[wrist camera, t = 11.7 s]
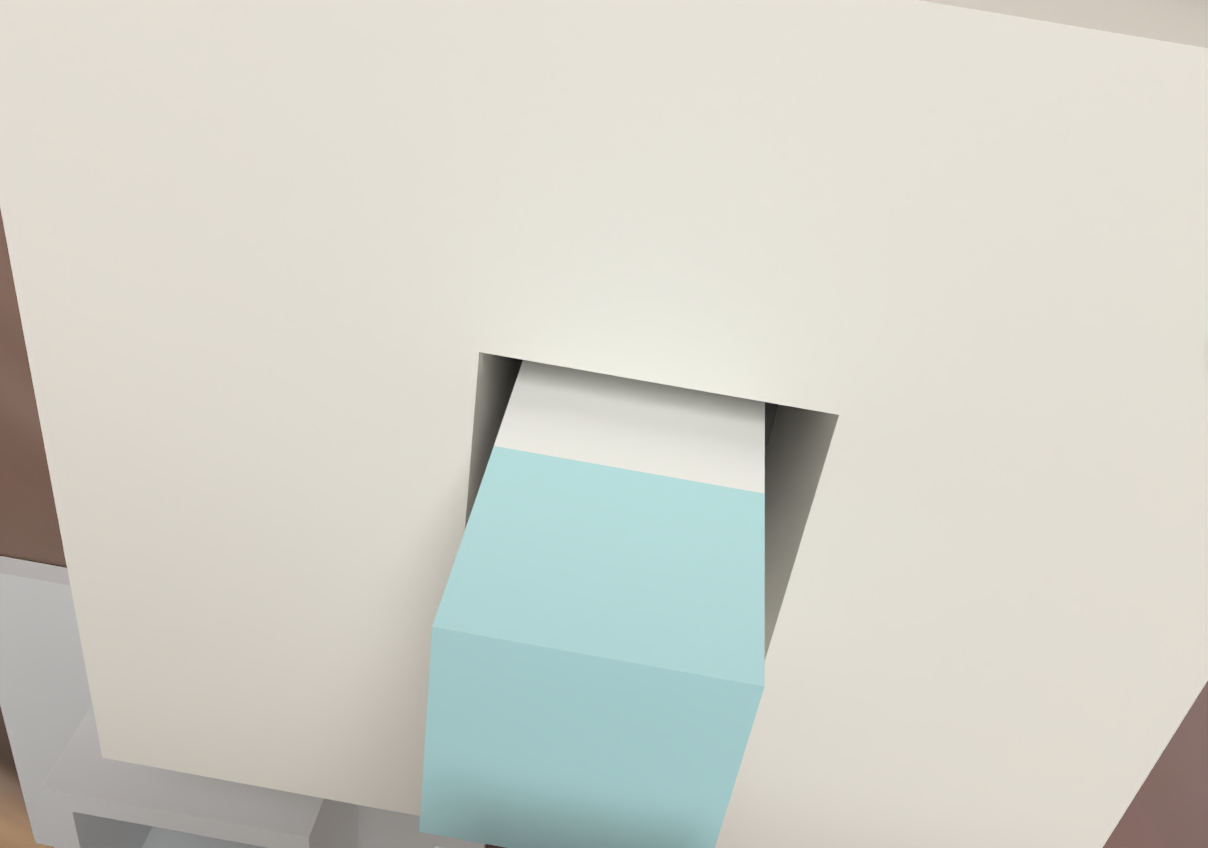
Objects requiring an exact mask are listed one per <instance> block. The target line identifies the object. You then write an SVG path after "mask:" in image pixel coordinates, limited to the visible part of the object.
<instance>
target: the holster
mask: <svg viewBox="0 0 1208 848" xmlns="http://www.w3.org/2000/svg"><path fill="white" fill-rule="evenodd" d="M0 706H1V710H2V714H3V718H4V722H5V725H6V729H7V733H8V737H9V741H10V745H11V749H12V753H13V757H14V761H15V765H16V769H17V773H18V777H19V781H20V785H21V789H22V793H23V797H24V800H25V804H26V808H27V812H28V816H29V820H30V824H31V828H32V832H33V836H34V840H35V843H37V844H42V845H48V846H53V847H54V848H435V847H441V848H486V844H483V843H478V842H472V841H467V840H462V839H456V838H451V837H445V836H440V835H434V834H429V833H424V832H419V830H420V816H417V815H411V814H406V813H400V812H395V811H389V810H384V809H379V808H373V807H368V806H362V805H357V804H351V803H346V802H340V801H335V800H330V799H324V798H319V797H313V796H308V795H302V794H297V793H292V792H286V791H281V790H275V789H270V788H264V787H259V786H253V785H248V784H243V783H237V782H232V781H226V780H221V779H215V778H210V777H205V776H199V775H194V774H188V773H183V772H177V771H172V770H166V769H161V768H156V767H150V766H145V765H139V764H134V763H128V762H123V761H118V760H112V759H107V758H102V754H101V748H100V743H99V737H98V732H97V727H96V721H95V716H94V710H93V705H92V700H91V694H90V689H89V683H88V678H87V673H86V667H85V662H84V656H83V651H82V646H81V640H80V635H79V629H78V624H77V619H76V613H75V608H74V602H73V597H72V591H71V586H70V581H69V575H68V570H67V568H65V567H59V566H53V565H48V564H42V563H37V562H31V561H26V560H20V559H15V558H9V557H4V556H0Z"/></svg>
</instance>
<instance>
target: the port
mask: <svg viewBox="0 0 1208 848" xmlns="http://www.w3.org/2000/svg"><path fill="white" fill-rule="evenodd" d="M0 208H1V213H2V219H3V224H4V229H5V235H6V240H7V246H8V251H9V256H10V262H11V267H12V273H13V278H14V283H15V289H16V294H17V300H18V305H19V310H20V316H21V321H22V327H23V332H24V337H25V343H26V348H27V354H28V359H29V364H30V370H31V375H32V381H33V386H34V391H35V397H36V402H37V408H38V413H39V419H40V424H41V429H42V435H43V440H44V446H45V451H46V456H47V462H48V467H49V473H50V478H51V483H52V489H53V494H54V500H55V505H56V510H57V516H58V521H59V527H60V532H61V537H62V543H63V548H64V554H65V559H66V564H67V570H68V575H69V581H70V586H71V591H72V597H73V602H74V608H75V613H76V619H77V624H78V629H79V635H80V640H81V646H82V651H83V656H84V662H85V667H86V673H87V678H88V683H89V689H90V694H91V700H92V705H93V710H94V716H95V721H96V727H97V732H98V737H99V743H100V748H101V754H102V758H107V759H112V760H118V761H123V762H128V763H134V764H139V765H145V766H150V767H156V768H161V769H166V770H172V771H177V772H183V773H188V774H194V775H199V776H205V777H210V778H215V779H221V780H226V781H232V782H237V783H243V784H248V785H253V786H259V787H264V788H270V789H275V790H281V791H286V792H292V793H297V794H302V795H308V796H313V797H319V798H324V799H330V800H335V801H340V802H346V803H351V804H357V805H362V806H368V807H373V808H379V809H384V810H389V811H395V812H400V813H406V814H411V815H417V816H420V814H421V798H422V781H423V765H424V749H425V733H426V717H427V701H428V685H429V669H430V653H431V637H432V626H433V623H434V620H435V617H436V614H437V611H438V608H439V605H440V602H441V599H442V596H443V593H444V590H445V588H446V585H447V582H448V579H449V576H450V573H451V570H452V567H453V564H454V561H455V558H456V555H457V552H458V549H459V546H460V544H461V541H462V538H463V535H464V532H465V529H466V526H467V523H468V520H469V517H470V514H471V511H472V508H473V505H474V502H475V500H476V497H477V494H478V491H479V488H480V485H481V482H482V479H483V476H484V473H485V470H486V467H487V464H488V461H489V458H490V456H491V453H492V450H493V447H494V444H495V441H496V438H497V435H498V432H499V429H500V426H501V423H502V420H503V417H504V414H505V412H506V409H507V406H508V403H509V400H510V397H511V394H512V391H513V388H514V385H515V382H516V379H517V376H518V373H519V370H520V368H521V365H522V362H523V360H527V361H533V362H539V363H545V364H550V365H556V366H562V367H568V368H573V369H579V370H585V371H590V372H596V373H602V374H608V375H613V376H619V377H625V378H631V379H636V380H642V381H648V382H653V383H659V384H665V385H671V386H676V387H682V388H688V389H694V390H699V391H705V392H711V393H716V394H722V395H728V396H734V397H739V398H745V399H751V400H756V401H762V402H765V687H764V690H763V693H762V696H761V700H760V703H759V706H758V709H757V713H756V716H755V719H754V722H753V726H752V729H751V732H750V735H749V739H748V742H747V745H746V748H745V752H744V755H743V758H742V761H741V765H740V768H739V771H738V774H737V778H736V781H735V784H734V787H733V791H732V794H731V797H730V800H729V804H728V807H727V810H726V813H725V817H724V820H723V823H722V826H721V830H720V833H719V836H718V839H717V843H716V846H715V848H1103V846H1104V844H1105V843H1106V841H1107V840H1108V838H1109V837H1110V835H1111V833H1112V832H1113V830H1114V829H1115V827H1116V825H1117V824H1118V822H1119V821H1120V819H1121V817H1122V816H1123V814H1124V813H1125V811H1126V809H1127V808H1128V806H1129V805H1130V803H1131V801H1132V800H1133V798H1134V797H1135V795H1136V794H1137V792H1138V790H1139V789H1140V787H1141V786H1142V784H1143V782H1144V781H1145V779H1146V778H1147V776H1148V774H1149V773H1150V771H1151V770H1152V768H1153V766H1154V765H1155V763H1156V762H1157V760H1158V759H1159V757H1160V755H1161V754H1162V752H1163V751H1164V749H1165V747H1166V746H1167V744H1168V743H1169V741H1170V739H1171V738H1172V736H1173V735H1174V733H1175V731H1176V730H1177V728H1178V727H1179V725H1180V724H1181V722H1182V720H1183V719H1184V717H1185V716H1186V714H1187V712H1188V711H1189V709H1190V708H1191V706H1192V704H1193V703H1194V701H1195V700H1196V698H1197V696H1198V695H1199V693H1200V692H1201V690H1202V689H1203V687H1204V685H1205V684H1206V682H1207V681H1208V0H0Z"/></svg>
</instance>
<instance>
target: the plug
mask: <svg viewBox="0 0 1208 848" xmlns="http://www.w3.org/2000/svg"><path fill="white" fill-rule="evenodd" d="M764 687H765V402H762V401H756V400H751V399H745V398H739V397H734V396H728V395H722V394H716V393H711V392H705V391H699V390H694V389H688V388H682V387H676V386H671V385H665V384H659V383H653V382H648V381H642V380H636V379H631V378H625V377H619V376H613V375H608V374H602V373H596V372H590V371H585V370H579V369H573V368H568V367H562V366H556V365H550V364H545V363H539V362H533V361H527V360H523V362H522V365H521V368H520V370H519V373H518V376H517V379H516V382H515V385H514V388H513V391H512V394H511V397H510V400H509V403H508V406H507V409H506V412H505V414H504V417H503V420H502V423H501V426H500V429H499V432H498V435H497V438H496V441H495V444H494V447H493V450H492V453H491V456H490V458H489V461H488V464H487V467H486V470H485V473H484V476H483V479H482V482H481V485H480V488H479V491H478V494H477V497H476V500H475V502H474V505H473V508H472V511H471V514H470V517H469V520H468V523H467V526H466V529H465V532H464V535H463V538H462V541H461V544H460V546H459V549H458V552H457V555H456V558H455V561H454V564H453V567H452V570H451V573H450V576H449V579H448V582H447V585H446V588H445V590H444V593H443V596H442V599H441V602H440V605H439V608H438V611H437V614H436V617H435V620H434V623H433V626H432V637H431V653H430V669H429V685H428V701H427V717H426V733H425V749H424V765H423V781H422V798H421V814H420V830H419V832H424V833H429V834H434V835H440V836H445V837H451V838H456V839H462V840H467V841H472V842H478V843H483V844H489V845H494V846H500V847H505V848H715V846H716V843H717V839H718V836H719V833H720V830H721V826H722V823H723V820H724V817H725V813H726V810H727V807H728V804H729V800H730V797H731V794H732V791H733V787H734V784H735V781H736V778H737V774H738V771H739V768H740V765H741V761H742V758H743V755H744V752H745V748H746V745H747V742H748V739H749V735H750V732H751V729H752V726H753V722H754V719H755V716H756V713H757V709H758V706H759V703H760V700H761V696H762V693H763V690H764Z"/></svg>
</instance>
